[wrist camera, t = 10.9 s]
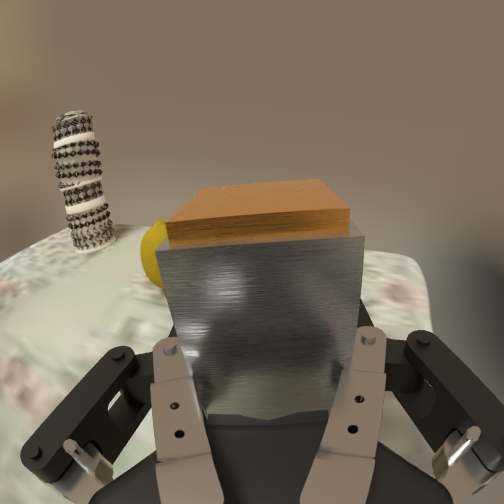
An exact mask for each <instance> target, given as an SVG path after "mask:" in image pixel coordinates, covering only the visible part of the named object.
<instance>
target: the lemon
mask: <svg viewBox="0 0 504 504" xmlns="http://www.w3.org/2000/svg"><path fill="white" fill-rule="evenodd" d="M167 237H168V235H167V230H166V225H165V221H164V220H158V221H157V222H156V224H155V225H153V226H152V227H151V228H149V229H148V230H147V232H146V233H145V235H144V237H143V239H142V242H141V261H142V265H143V268H144V271H145V273H146V275H147V277H148V278H149V279H150V281H151V282H152V283H154V284H155V285H156V286H158V287H160V288H163V289H164V287H163V283H162V279H161V275H160V271H159V267H158V263H157V259H156V255H155V250H156V249H157V248H158V247H159V245H160V244H161V243H162V242H163V241H164V240H165V239H166V238H167Z"/></svg>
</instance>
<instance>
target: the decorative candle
mask: <svg viewBox="0 0 504 504" xmlns="http://www.w3.org/2000/svg"><path fill="white" fill-rule="evenodd" d="M92 117H93V116H89V115H88V113H87V112H86V111H83V110H78V111H72V112H68V113H66V114H63V115H61V116H59V117H58V118H57V119H56V121H55V124H54V125H53V126H52V127H51V128H53V135H54V149H53V150H55V151H56V152H55V153H53V155H52V158H54V159H58V162H57V163H56V164H55V166H54V168H55V169H57V170H59V171H58V172H57V174H56V177H57V178H61V182H60V184H59V188H60V191H63V193H64V199H65V203H66V206H65V208H66V211H67V214H68V215H67V216H66V219H67V220H68V221H70V224H69V225H68V227H69V228H70V229H73V230H72V232H71V237H72V238H73V239H74V240H73V245H74V246H75V247H76V249H75V250H76V253H77V254H89V253H93V252H96V251H99V250H102V249H104V248H106V247H108V246H110V245H112V244H113V243H114V242H115V240H116V237H115V236H114V235H113V234H114V229H113V228H112V221H111V220H109V219H108V217H109V215H110V212H108V211H106V209H107V208H108V204H106V203H105V202H106V200H105V195H104V194H103V192H102V185H101V181H100V180H101V179H102V176H99V175H101V174H102V171H101V170H100V169H98V168H99V166H100V165H101V162H100V161H96V157H98V155H99V154H100V152H99V151H98V150H95V149H96V148H97V147H98V146H99V143H98V142H96V141H94V140H95V137H94V132H93V130H92V122H91V118H92Z"/></svg>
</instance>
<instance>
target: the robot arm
mask: <svg viewBox="0 0 504 504" xmlns="http://www.w3.org/2000/svg"><path fill="white" fill-rule="evenodd" d="M429 384H430V385H431V386H430V385H429ZM119 391H120V393H121V395H120V397H119V398H118V399H117V400H116V402H115V403H114V404H113V406H112V407H111V408H110V409H109V411H108V405H109V403H110V402H111V400H112V399H113V398H114V397H115V395H116V394H117V393H118V392H119ZM385 391H392V392H393V394H394V395H395V397H396V398H397V400H398V401H399V402H400V404H401V405H402V407H403V408H404V409H405V411H406V412H407V414H408V415H409V417H410V418H411V419H412V421H413V422H414V424H415V425H416V427H417V428H418V430H419V431H420V432H421V434H422V435H423V437H424V438H425V440H426V441H427V443H428V444H429V446H430V447H431V449H432V450H433V451H434V453H435V454H434V456H433V459H432V467H433V470H434V475H435V476H436V479H434V478H432V477H431V476H429V475H428V474H426V473H425V472H423V471H422V470H420V469H418V468H417V467H415V466H414V465H412V464H411V463H409V462H408V461H406V460H405V459H403V458H402V457H401V456H399V455H398V454H396V453H395V452H393V451H392V450H390V449H389V448H388V447H386V446H385V445H383V444H382V443H381V442H379V441H378V436H379V430H380V424H381V417H382V410H383V402H384V393H385ZM151 407H152V416H153V427H154V436H155V444H156V450H155V451H154V452H153V453H151V454H150V455H149V456H147V457H146V458H145V459H143V460H142V461H140V462H139V463H138V464H136V465H135V466H133V467H132V468H131V469H129V470H128V471H126V472H125V473H123V474H122V475H120V476H119V477H117V478H116V479H114V480H113V477H112V476H113V467H112V465H113V463H114V462H115V460H116V459H117V457H118V456H119V454H120V453H121V451H122V450H123V448H124V447H125V446H126V444H127V443H128V441H129V440H130V438H131V437H132V435H133V434H134V432H135V431H136V429H137V428H138V426H139V425H140V423H141V422H142V421H143V419H144V418H145V416H146V415H147V413H148V412H149V410H150V409H151ZM20 457H21V461H22V463H23V465H24V466H25V467H26V468H27V469H28V470H30V471H31V472H32V473H33V474H35V475H36V476H37V477H38V478H39V479H40V480H41V481H42V482H43V483H45V484H46V485H47V486H49V487H50V488H51V489H53V490H54V491H55V492H57V493H59V494H61V495H63V496H64V497H65V498H67V499H68V500H70V501H72V502H74V503H75V504H459V503H460V502H462V501H463V500H464V499H466V498H467V497H468V496H469V495H471V494H475V493H477V492H479V491H480V490H481V489H483V488H484V487H485V486H486V485H488V484H489V483H490V482H491V481H493V480H494V479H495V478H496V477H497V476H499V475H500V474H501V473H502V472H503V471H504V405H503V404H502V403H501V402H500V401H499V400H498V399H497V397H496V396H495V395H494V394H493V393H492V392H491V391H490V390H489V389H488V388H487V387H486V386H485V385H484V384H483V382H482V381H481V380H480V379H479V378H478V377H477V376H476V375H475V374H474V373H473V372H472V371H471V370H470V369H469V368H468V367H467V366H466V365H465V364H464V363H463V362H462V361H461V360H460V359H459V358H458V357H457V356H456V355H455V354H454V353H453V352H452V351H451V350H450V349H449V348H448V347H447V346H446V345H445V344H444V343H443V342H442V341H441V340H440V339H439V338H438V337H437V336H436V335H434V334H433V333H431V332H429V331H425V330H417V331H413V332H411V333H410V334H409V335H408V337H407V340H393V339H388V338H386V335H385V333H384V332H383V331H382V330H380V329H379V328H376V327H374V325H373V323H372V321H371V319H370V317H369V315H368V313H367V310H366V309H365V306H364V304H363V302H362V300H361V298H360V305H359V314H358V322H357V330H356V337H355V344H354V351H353V357H346V361H345V365H344V368H343V369H342V373H341V376H340V380H339V384H338V388H337V392H336V395H335V399H334V402H333V406H332V409H331V413H330V416H329V413H328V409H327V410H318V411H308V412H298V413H294V414H290V415H287V416H283V417H279V418H275V419H271V420H263V419H257V418H252V417H247V416H242V415H237V414H208V413H207V410H206V407H205V404H204V403H202V400H201V398H200V395H199V392H198V388H197V384H196V380H195V376H194V372H193V369H192V366H191V365H187V364H186V361H185V358H184V355H183V352H182V349H181V346H180V343H179V339H178V336H177V333H176V330H175V326H174V325H173V327H172V330H171V332H170V334H169V336H168V338H165V339H162V340H160V341H159V342H158V343H156V345H155V346H154V348H153V351H152V352H149V353H144V354H138V355H135V353H134V351H133V349H131V348H130V347H128V346H118V347H115V348H113V349H111V350H109V351H108V352H107V353H106V354H105V355H104V356H103V357H102V358H101V359H100V360H99V361H98V362H97V363H96V365H95V366H94V367H93V368H92V369H91V370H90V371H89V372H88V373H87V374H86V375H85V376H84V378H83V379H82V380H81V381H80V382H79V383H78V384H77V385H76V386H75V387H74V388H73V390H72V391H71V392H70V393H69V394H68V395H67V396H66V397H65V398H64V399H63V401H62V402H61V403H60V404H59V405H58V406H57V407H56V408H55V410H54V411H53V412H52V413H51V414H50V415H49V416H48V417H47V419H46V420H45V421H44V422H43V423H42V424H41V426H40V427H39V428H38V429H37V430H36V431H35V432H34V434H33V435H32V436H31V437H30V438H29V439H28V441H27V442H26V443H25V444H24V446H23V447H22V450H21V455H20Z"/></svg>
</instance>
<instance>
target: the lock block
mask: <svg viewBox="0 0 504 504" xmlns="http://www.w3.org/2000/svg"><path fill="white" fill-rule="evenodd" d="M165 225H166V230H167V235H168V237H167V238H166V239H165V240H164V241H163V242H162V243H161V244H160V245H159V247H158V248H157V249H156V250H155V255H156V259H157V263H158V267H159V271H160V275H161V279H162V283H163V287H164V291H165V294H166V298H167V302H168V305H169V309H170V313H171V316H172V319H173V323H174V326H175V330H176V333H177V336H178V339H179V343H180V346H181V349H182V352H183V355H184V358H185V361H186V364H187V365H191V366H192V369H193V372H194V376H195V380H196V384H197V388H198V392H199V395H200V398H201V400H202V403H204V404H205V407H206V410H207V413H208V414H237V415H242V416H247V417H252V418H257V419H263V420H271V419H275V418H279V417H283V416H287V415H290V414H294V413H298V412H308V411H318V410H327V409H328V413H329V416H330V413H331V409H332V406H333V402H334V399H335V395H336V392H337V388H338V384H339V380H340V376H341V373H342V369H343V368H344V365H345V361H346V357H353V351H354V344H355V337H356V330H357V322H358V314H359V305H360V296H361V285H362V273H363V259H364V240H365V236H364V234H363V233H362V232H361V231H360V230H359V229H358V228H357V226H356V225H355V224H354V223H353V222H352V221H351V220H350V208H349V207H348V206H347V205H346V204H345V203H344V202H343V201H342V200H341V199H340V198H338V197H337V196H336V195H335V194H334V193H333V192H332V191H331V190H330V189H329V188H328V187H327V186H326V185H324V184H323V183H322V182H321V181H320V180H319V179H306V180H291V181H276V182H262V183H250V184H239V185H230V186H221V187H210V188H203V189H201V190H200V191H199V192H198V193H197V194H196V195H195V196H193V197H192V198H191V199H190V200H189V201H188V202H187V203H186V204H185V205H184V206H183V207H181V208H180V209H179V210H178V211H177V212H176V213H175V214H174V215H173V216H172V217H170V218H169V219H168V220H167V221H166V222H165Z"/></svg>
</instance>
